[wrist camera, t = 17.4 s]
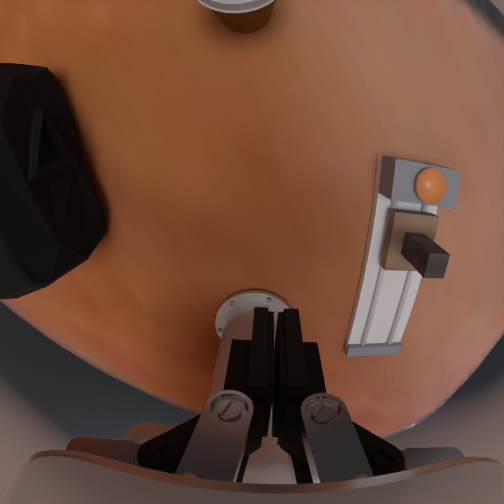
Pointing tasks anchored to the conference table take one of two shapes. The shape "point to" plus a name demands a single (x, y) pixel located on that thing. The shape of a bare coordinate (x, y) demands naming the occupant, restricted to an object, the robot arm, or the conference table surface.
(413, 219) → the carriage
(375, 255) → the rail track
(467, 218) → the conference table surface
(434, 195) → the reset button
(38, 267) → the black hard case
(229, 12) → the disposable coffee cup
